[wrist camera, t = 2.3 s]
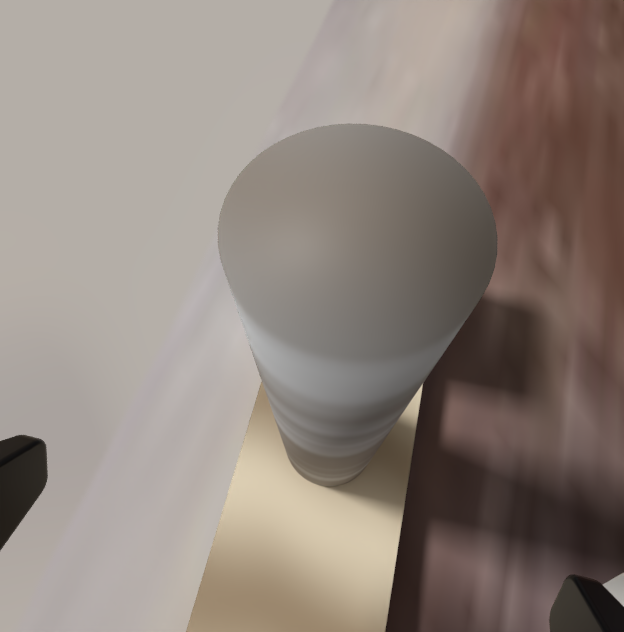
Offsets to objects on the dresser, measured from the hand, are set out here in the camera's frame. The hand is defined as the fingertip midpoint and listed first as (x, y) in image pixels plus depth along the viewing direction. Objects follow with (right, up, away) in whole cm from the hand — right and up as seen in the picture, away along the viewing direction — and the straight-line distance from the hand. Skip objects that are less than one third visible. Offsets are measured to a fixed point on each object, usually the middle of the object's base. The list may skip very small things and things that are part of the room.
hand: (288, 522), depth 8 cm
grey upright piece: (+1, -2, +10) cm, 11 cm away
